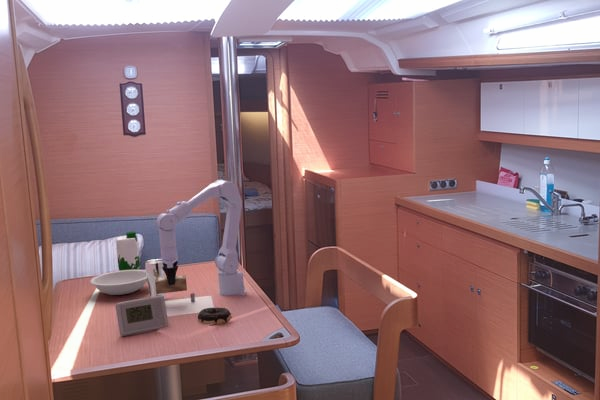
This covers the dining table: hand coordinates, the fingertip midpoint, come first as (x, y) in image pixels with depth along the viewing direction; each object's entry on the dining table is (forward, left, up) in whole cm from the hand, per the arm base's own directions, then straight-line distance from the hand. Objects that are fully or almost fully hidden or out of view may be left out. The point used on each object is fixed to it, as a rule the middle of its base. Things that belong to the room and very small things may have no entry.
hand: (171, 282), depth 251 cm
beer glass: (+6, -12, -9) cm, 16 cm away
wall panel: (-3, +5, -9) cm, 11 cm away
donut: (-13, +23, -9) cm, 28 cm away
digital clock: (+10, +25, -9) cm, 28 cm away
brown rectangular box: (0, 0, -3) cm, 3 cm away
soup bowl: (+20, -28, -9) cm, 36 cm away
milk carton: (+18, -52, -9) cm, 56 cm away
